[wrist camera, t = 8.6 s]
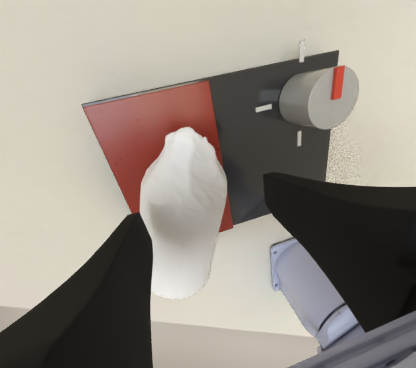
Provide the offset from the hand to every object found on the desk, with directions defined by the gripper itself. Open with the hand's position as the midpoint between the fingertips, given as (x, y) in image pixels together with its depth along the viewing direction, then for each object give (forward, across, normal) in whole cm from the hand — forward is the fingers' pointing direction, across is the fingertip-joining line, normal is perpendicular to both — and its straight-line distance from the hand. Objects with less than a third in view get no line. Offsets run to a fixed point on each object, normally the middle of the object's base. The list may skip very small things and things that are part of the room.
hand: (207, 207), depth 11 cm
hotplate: (+6, +1, 0) cm, 7 cm away
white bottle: (+6, +2, +2) cm, 6 cm away
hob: (+8, -4, 0) cm, 9 cm away
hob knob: (+6, -11, -3) cm, 13 cm away
